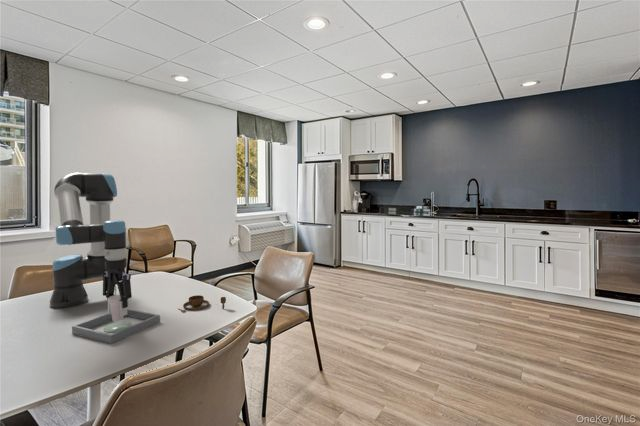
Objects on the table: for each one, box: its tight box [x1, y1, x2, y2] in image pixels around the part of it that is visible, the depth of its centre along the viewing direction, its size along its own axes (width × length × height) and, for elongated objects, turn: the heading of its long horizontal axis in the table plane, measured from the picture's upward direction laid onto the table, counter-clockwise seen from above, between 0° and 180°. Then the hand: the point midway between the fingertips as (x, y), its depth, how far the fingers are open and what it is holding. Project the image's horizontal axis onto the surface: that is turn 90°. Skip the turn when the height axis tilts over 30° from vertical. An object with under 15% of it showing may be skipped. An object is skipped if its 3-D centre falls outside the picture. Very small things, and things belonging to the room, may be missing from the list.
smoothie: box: [108, 285, 124, 323], centre depth 134 cm, size 6×6×14 cm
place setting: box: [178, 294, 227, 313], centre depth 158 cm, size 18×20×6 cm
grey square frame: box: [71, 308, 161, 345], centre depth 135 cm, size 22×22×3 cm
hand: (117, 313), depth 135 cm, fingers closed on smoothie, 6 cm apart
